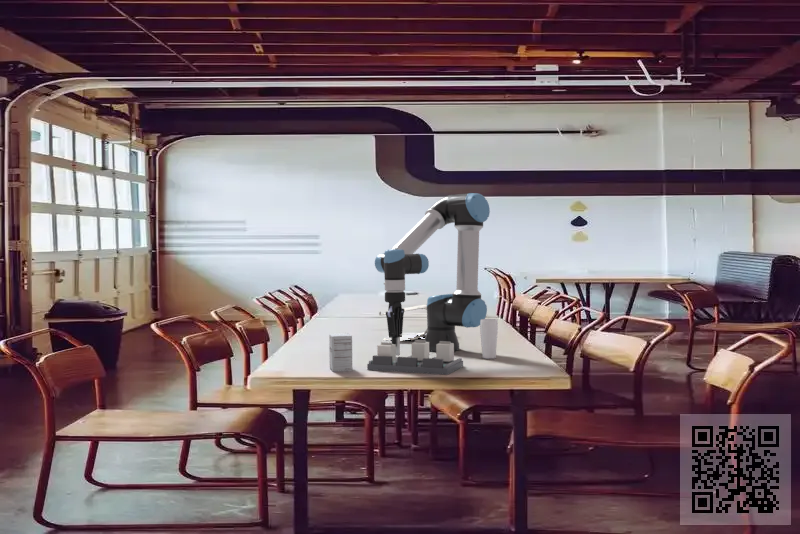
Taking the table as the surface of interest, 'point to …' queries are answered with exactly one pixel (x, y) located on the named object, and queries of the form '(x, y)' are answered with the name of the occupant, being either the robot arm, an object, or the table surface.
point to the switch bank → (414, 365)
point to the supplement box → (340, 352)
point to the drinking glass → (489, 337)
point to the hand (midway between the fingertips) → (395, 354)
